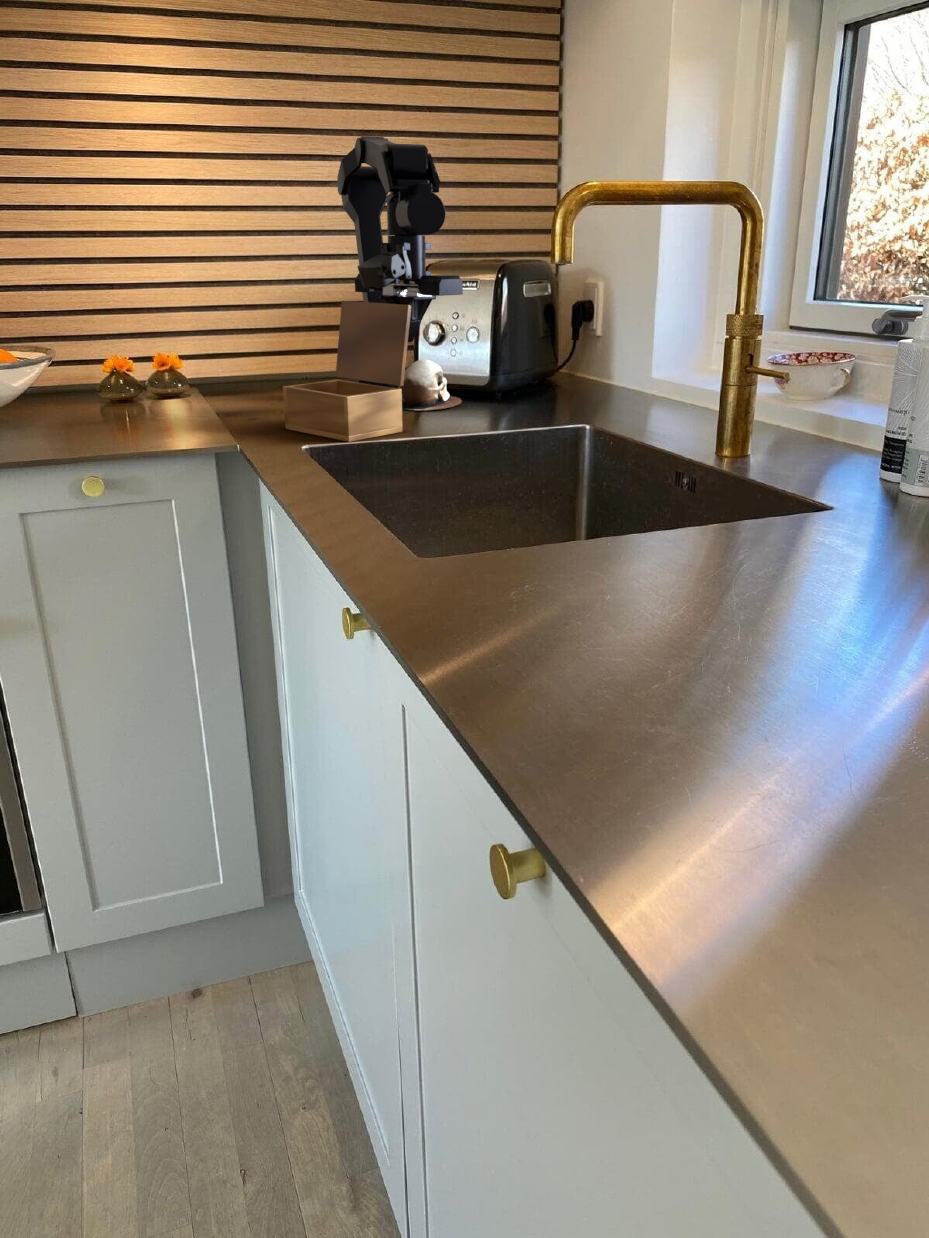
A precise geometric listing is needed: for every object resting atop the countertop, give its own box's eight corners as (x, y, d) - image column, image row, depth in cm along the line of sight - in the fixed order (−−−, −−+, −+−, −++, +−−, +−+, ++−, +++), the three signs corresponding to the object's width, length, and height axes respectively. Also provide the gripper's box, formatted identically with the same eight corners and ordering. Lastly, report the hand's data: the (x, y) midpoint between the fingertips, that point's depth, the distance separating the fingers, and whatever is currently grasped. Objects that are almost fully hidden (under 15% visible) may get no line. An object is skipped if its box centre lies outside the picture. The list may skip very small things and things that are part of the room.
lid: (408, 305, 135) (411, 305, 136) (341, 300, 144) (345, 301, 145) (400, 386, 138) (403, 386, 138) (335, 376, 147) (338, 377, 148)
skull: (419, 390, 171) (449, 350, 164) (451, 434, 169) (482, 395, 162) (373, 396, 162) (402, 353, 156) (405, 442, 160) (436, 401, 154)
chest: (349, 442, 133) (347, 397, 131) (285, 428, 142) (282, 386, 140) (402, 431, 141) (401, 388, 138) (339, 419, 150) (337, 379, 147)
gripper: (325, 235, 143) (331, 341, 149) (411, 235, 132) (413, 350, 137) (379, 236, 151) (382, 337, 157) (465, 235, 139) (465, 344, 145)
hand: (408, 342), depth 149 cm, fingers closed
